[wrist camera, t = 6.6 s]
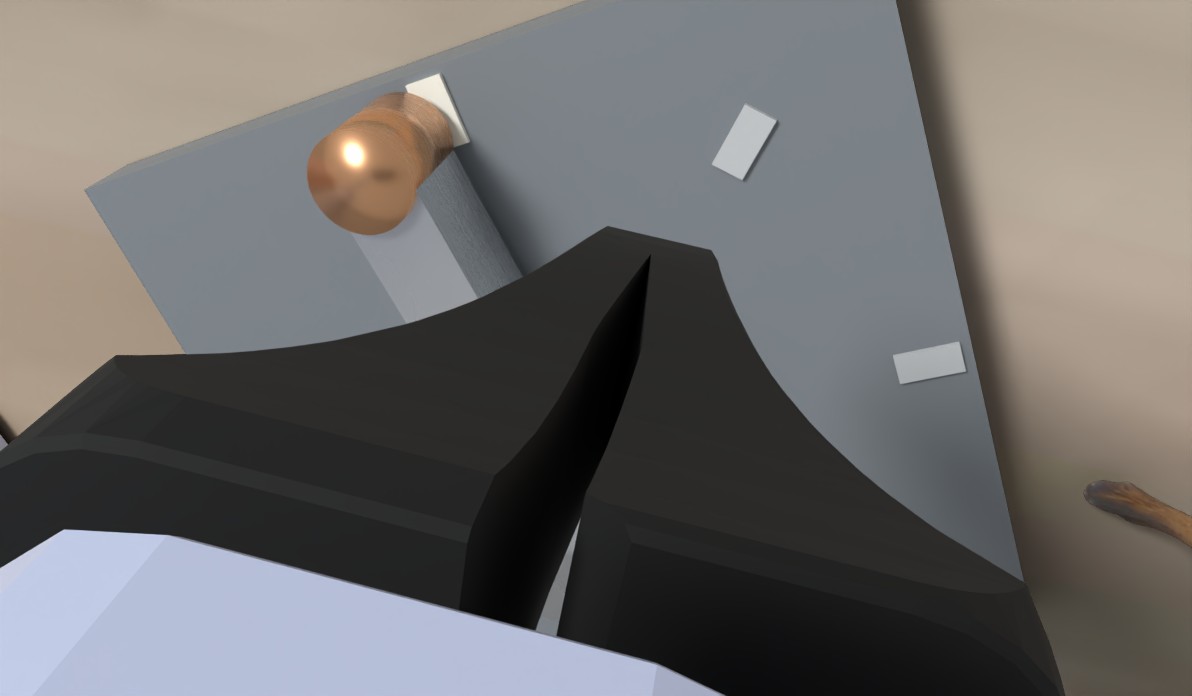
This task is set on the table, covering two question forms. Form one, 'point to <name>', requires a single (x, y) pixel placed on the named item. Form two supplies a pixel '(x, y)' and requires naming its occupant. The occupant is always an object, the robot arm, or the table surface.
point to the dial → (415, 220)
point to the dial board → (637, 213)
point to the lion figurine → (1139, 508)
